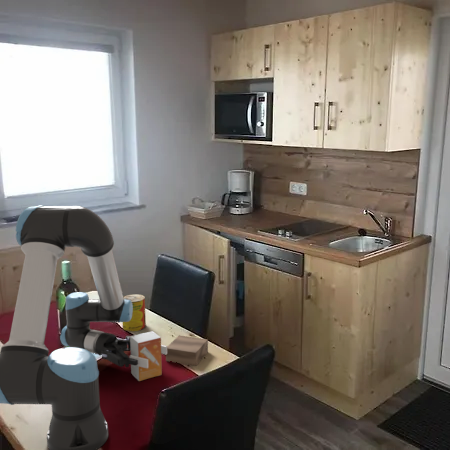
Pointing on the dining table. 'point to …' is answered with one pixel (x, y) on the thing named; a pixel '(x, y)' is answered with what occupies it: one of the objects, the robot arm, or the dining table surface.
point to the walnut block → (187, 350)
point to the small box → (146, 355)
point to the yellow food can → (136, 313)
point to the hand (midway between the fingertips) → (157, 356)
